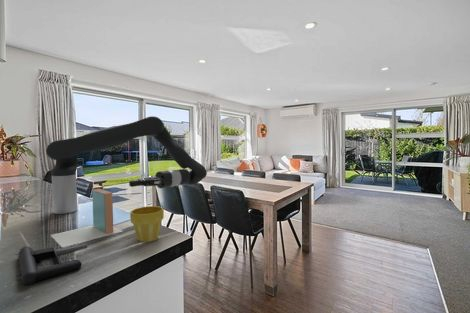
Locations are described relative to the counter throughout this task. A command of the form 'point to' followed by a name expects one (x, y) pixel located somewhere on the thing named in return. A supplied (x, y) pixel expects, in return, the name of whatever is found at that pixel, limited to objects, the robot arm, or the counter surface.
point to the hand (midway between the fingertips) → (130, 184)
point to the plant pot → (147, 222)
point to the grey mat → (80, 235)
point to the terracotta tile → (102, 210)
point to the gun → (33, 274)
